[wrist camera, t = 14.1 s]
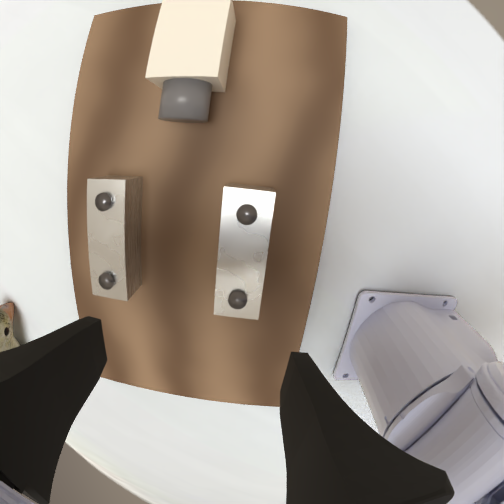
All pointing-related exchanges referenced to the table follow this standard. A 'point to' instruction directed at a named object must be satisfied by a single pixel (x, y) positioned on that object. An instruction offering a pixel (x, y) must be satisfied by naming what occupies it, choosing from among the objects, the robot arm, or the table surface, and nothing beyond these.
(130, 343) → the base board
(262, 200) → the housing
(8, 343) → the decorative bird
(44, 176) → the table surface
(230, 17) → the plug
